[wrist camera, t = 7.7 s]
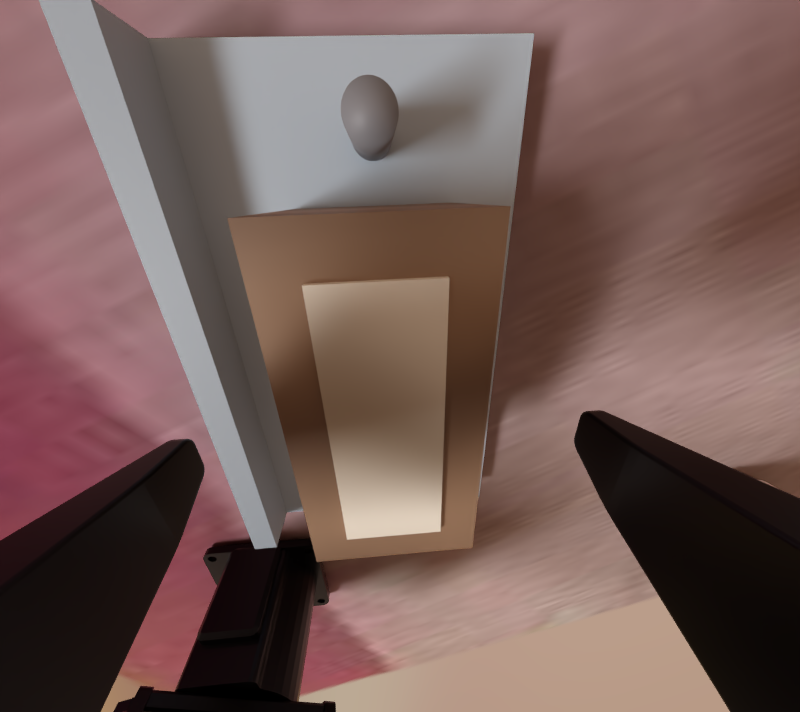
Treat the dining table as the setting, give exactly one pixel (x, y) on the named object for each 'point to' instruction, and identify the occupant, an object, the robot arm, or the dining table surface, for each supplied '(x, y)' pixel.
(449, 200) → the ledge
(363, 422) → the brown wooden block
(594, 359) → the dining table surface
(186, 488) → the robot arm
